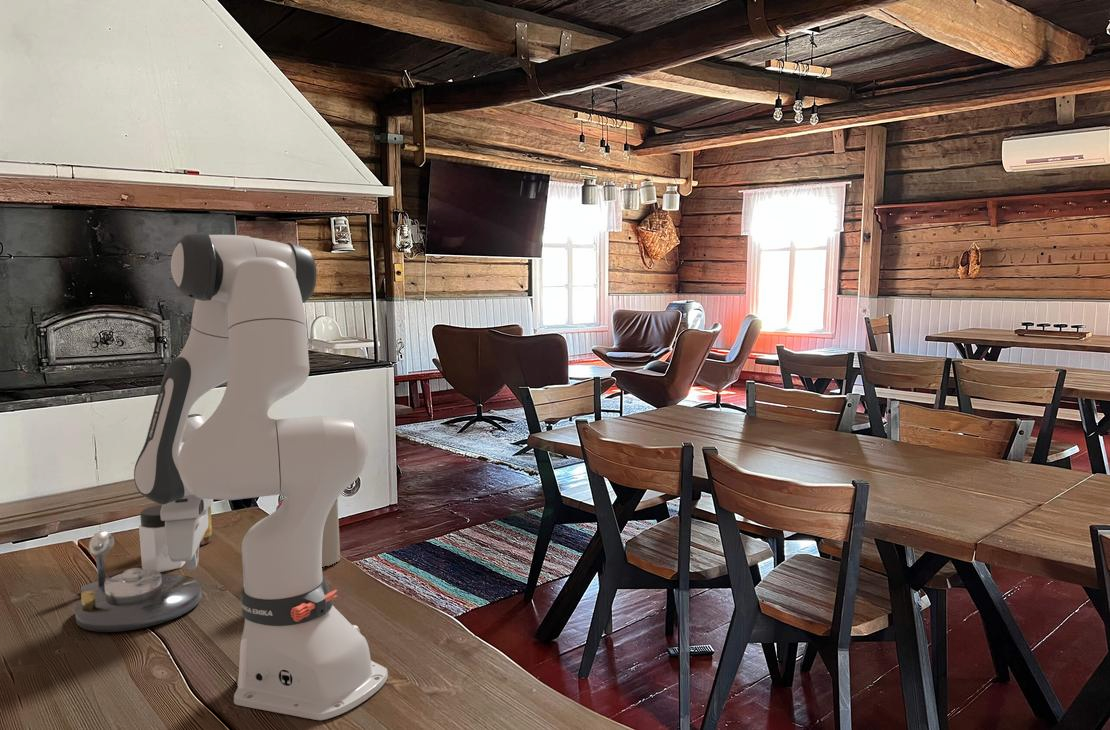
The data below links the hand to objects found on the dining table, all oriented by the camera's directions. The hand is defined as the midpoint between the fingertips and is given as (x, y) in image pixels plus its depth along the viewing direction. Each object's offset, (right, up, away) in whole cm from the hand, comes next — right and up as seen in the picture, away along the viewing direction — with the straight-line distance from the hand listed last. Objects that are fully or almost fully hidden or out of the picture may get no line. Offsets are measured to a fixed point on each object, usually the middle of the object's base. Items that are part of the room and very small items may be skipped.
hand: (192, 567), depth 147 cm
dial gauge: (-16, -4, -1) cm, 17 cm away
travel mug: (+21, -3, +13) cm, 25 cm away
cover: (-6, -3, -9) cm, 11 cm away
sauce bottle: (-11, -2, +26) cm, 28 cm away
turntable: (-5, -5, -9) cm, 12 cm away
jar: (-11, -3, +12) cm, 17 cm away
